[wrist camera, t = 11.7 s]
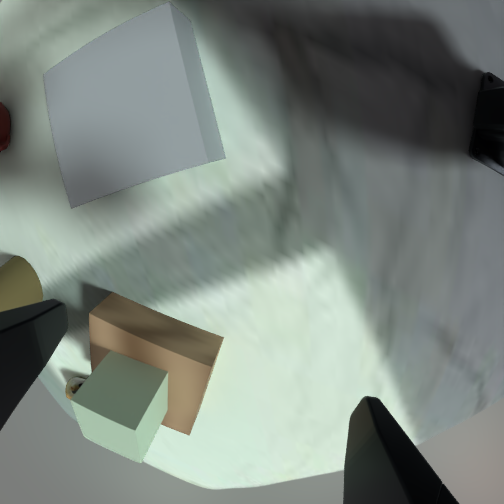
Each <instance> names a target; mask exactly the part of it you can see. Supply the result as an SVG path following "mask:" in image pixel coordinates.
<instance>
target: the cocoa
mask: <svg viewBox="0 0 504 504" xmlns="http://www.w3.org/2000/svg"><path fill="white" fill-rule="evenodd" d="M9 133H10V117H9V112H8V110H7V109H6V108H5V106H4V105H3V104H2V103H1V102H0V152H1V151H3V150H5V149H7V148H8V146H9V143H10V135H9Z"/></svg>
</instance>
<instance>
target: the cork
mask: <svg viewBox="0 0 504 504" xmlns="http://www.w3.org/2000/svg"><path fill="white" fill-rule="evenodd" d="M42 299H43V293H42V287H41V284H40V280H39V278H38V276H37V274H36V272H35V270H34V269H33V268H32V266H31V265H30V264H29V263H28V262H27V261H26V260H25V259H24V258H22V257H20V256H14V257H13V258H12V259H10V260H9V261H8V262H7V263H5V264H4V265H3V266H2V267H0V312H2V311H6V310H10V309H14V308H18V307H22V306H26V305H30V304H34V303H38V302H42Z"/></svg>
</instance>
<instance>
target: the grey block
mask: <svg viewBox="0 0 504 504" xmlns="http://www.w3.org/2000/svg"><path fill="white" fill-rule="evenodd" d="M43 77H44V85H45V93H46V100H47V106H48V112H49V118H50V124H51V129H52V134H53V139H54V144H55V149H56V153H57V157H58V162H59V166H60V170H61V174H62V178H63V181H64V185H65V189H66V192H67V196H68V199H69V203H70V206H71V209H72V208H74V207H77V206H80V205H82V204H85V203H87V202H90V201H93V200H95V199H98V198H101V197H103V196H106V195H109V194H112V193H114V192H117V191H120V190H123V189H126V188H129V187H132V186H134V185H137V184H140V183H143V182H146V181H150V180H153V179H156V178H159V177H162V176H165V175H169V174H172V173H175V172H178V171H182V170H185V169H189V168H192V167H196V166H199V165H203V164H206V163H210V162H214V161H217V160H221V159H225V158H226V156H225V152H224V148H223V144H222V141H221V137H220V133H219V129H218V125H217V121H216V117H215V113H214V110H213V106H212V102H211V98H210V94H209V90H208V86H207V82H206V78H205V75H204V71H203V67H202V63H201V59H200V55H199V51H198V47H197V43H196V39H195V35H194V32H193V28H192V24H191V21H190V20H189V19H188V18H187V17H186V16H185V15H184V14H182V13H181V12H180V11H179V10H178V9H177V8H176V7H175V6H173V5H172V4H171V3H170V2H167V3H165V4H162V5H160V6H158V7H155V8H153V9H151V10H149V11H147V12H144V13H142V14H140V15H138V16H136V17H134V18H132V19H130V20H128V21H126V22H124V23H122V24H121V25H119V26H117V27H115V28H113V29H111V30H110V31H108V32H106V33H104V34H103V35H101V36H99V37H98V38H96V39H94V40H93V41H91V42H89V43H88V44H86V45H85V46H83V47H81V48H80V49H78V50H77V51H75V52H74V53H72V54H71V55H69V56H68V57H66V58H65V59H64V60H62V61H61V62H59V63H58V64H57V65H55V66H54V67H52V68H51V69H50V70H48V71H47V72H46V73H45V74H43Z"/></svg>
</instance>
